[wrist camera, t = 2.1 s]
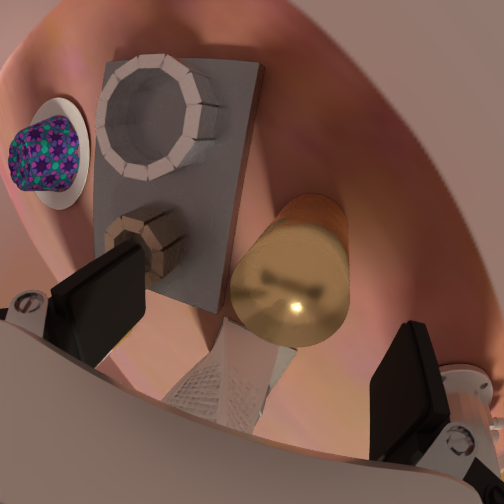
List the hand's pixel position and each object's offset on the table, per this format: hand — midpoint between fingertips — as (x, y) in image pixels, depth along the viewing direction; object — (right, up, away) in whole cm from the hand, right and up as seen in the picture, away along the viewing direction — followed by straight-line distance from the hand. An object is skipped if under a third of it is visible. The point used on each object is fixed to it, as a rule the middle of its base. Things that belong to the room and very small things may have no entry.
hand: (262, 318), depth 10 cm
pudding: (-21, +13, +16) cm, 29 cm away
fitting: (+4, +4, +11) cm, 12 cm away
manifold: (-7, +8, +13) cm, 17 cm away
